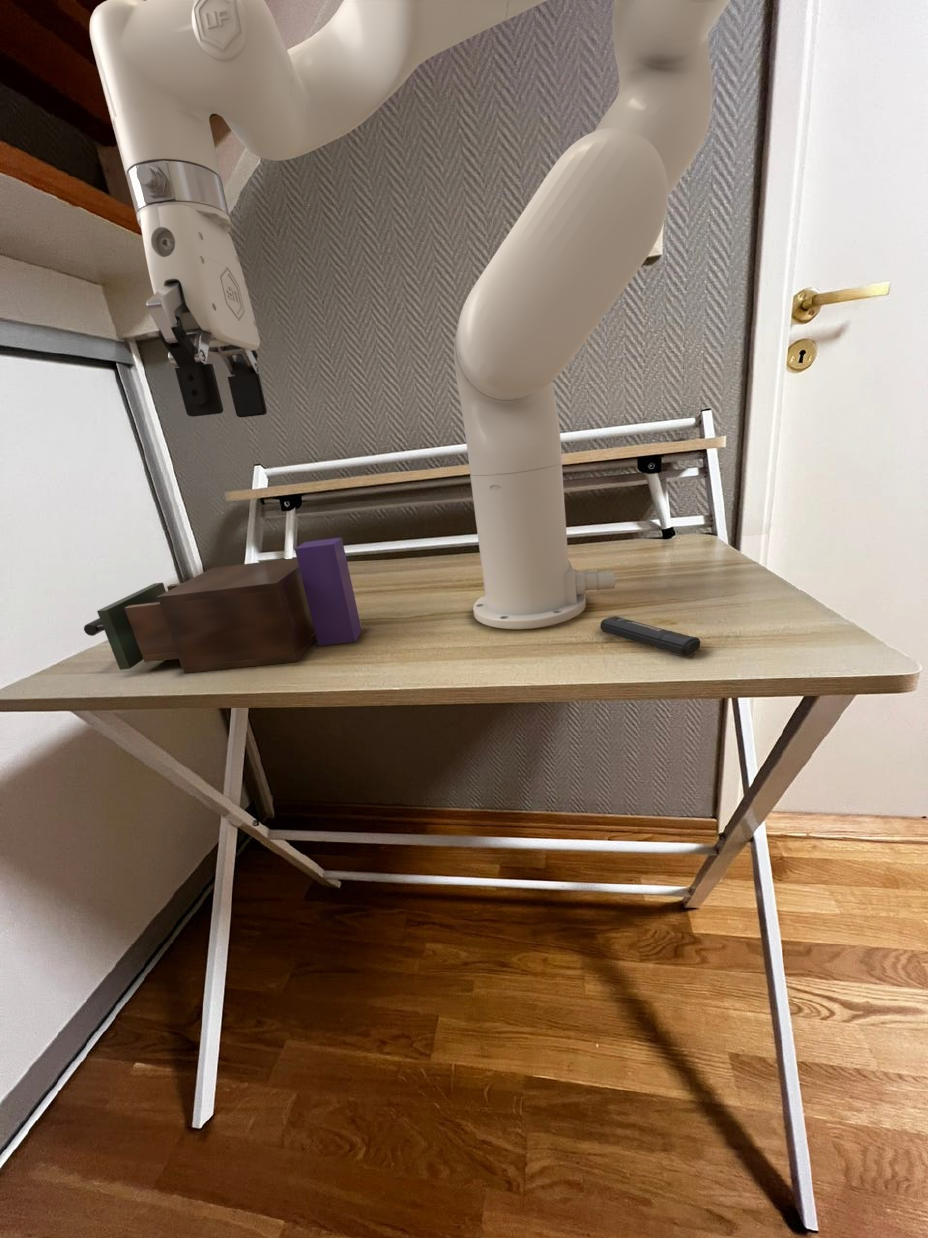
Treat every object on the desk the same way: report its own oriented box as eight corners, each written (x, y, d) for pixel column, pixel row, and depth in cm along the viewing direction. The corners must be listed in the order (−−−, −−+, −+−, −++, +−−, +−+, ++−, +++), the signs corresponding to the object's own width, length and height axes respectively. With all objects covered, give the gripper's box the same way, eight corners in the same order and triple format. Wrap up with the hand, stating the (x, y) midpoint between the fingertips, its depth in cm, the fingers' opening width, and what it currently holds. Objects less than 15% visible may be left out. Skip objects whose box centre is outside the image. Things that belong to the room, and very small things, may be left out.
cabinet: (183, 673, 57) (157, 596, 54) (232, 634, 67) (211, 567, 64) (297, 661, 55) (276, 582, 52) (329, 623, 66) (313, 555, 63)
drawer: (86, 673, 58) (62, 614, 56) (142, 638, 67) (123, 587, 65) (220, 659, 56) (201, 598, 54) (259, 625, 66) (244, 572, 63)
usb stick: (704, 651, 45) (704, 634, 45) (685, 661, 44) (685, 644, 44) (616, 626, 53) (615, 611, 52) (597, 634, 52) (597, 619, 51)
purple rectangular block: (362, 631, 62) (341, 537, 58) (355, 642, 59) (333, 543, 55) (326, 635, 62) (304, 542, 58) (318, 646, 59) (294, 548, 55)
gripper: (165, 153, 38) (226, 409, 44) (263, 233, 54) (298, 412, 60) (67, 169, 39) (140, 419, 45) (193, 243, 55) (234, 420, 61)
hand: (231, 415), depth 53 cm, fingers open, 9 cm apart
